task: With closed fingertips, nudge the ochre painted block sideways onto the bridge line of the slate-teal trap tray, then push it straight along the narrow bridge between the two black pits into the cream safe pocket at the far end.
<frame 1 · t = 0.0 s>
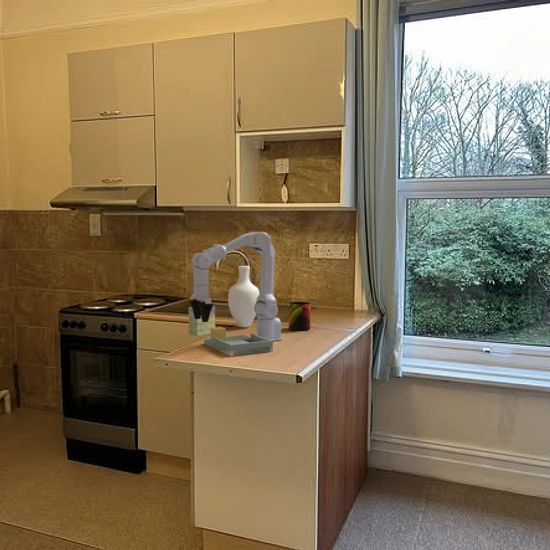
hand: (201, 320, 211), 10 cm above the countertop, fingers open, 7 cm apart
mug: (298, 329, 251), on the countertop
box: (201, 334, 237), on the countertop
vase: (243, 327, 254), on the countertop
trap tray: (237, 347, 211), on the countertop
ochre block: (218, 339, 215), point 2 cm above the countertop, touching trap tray
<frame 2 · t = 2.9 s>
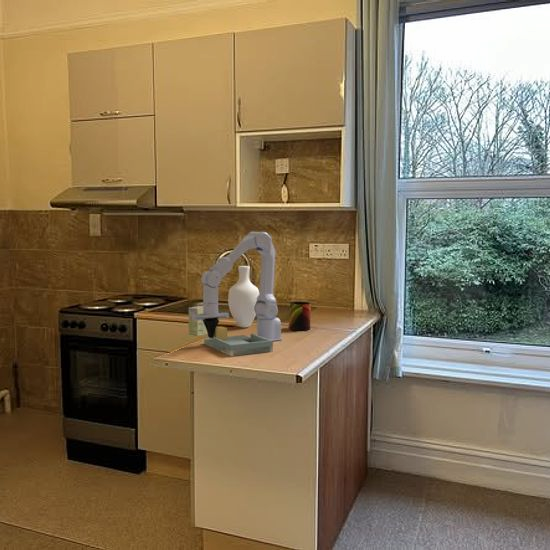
hand: (210, 337, 213), 3 cm above the countertop, fingers closed
ochre block: (219, 339, 215), point 2 cm above the countertop, touching gripper
everything else where it was.
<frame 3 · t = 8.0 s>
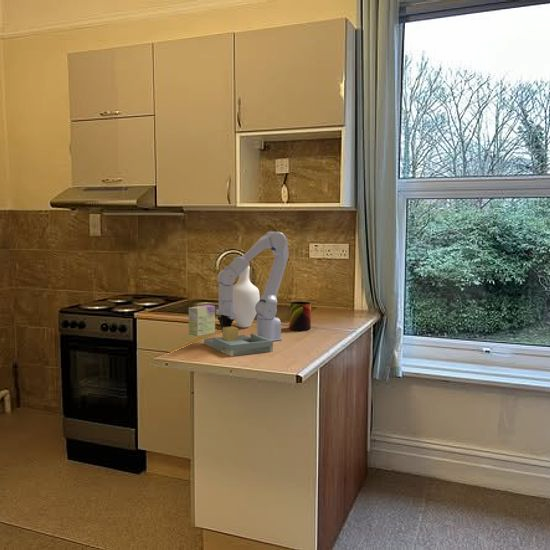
hand: (225, 334, 219), 3 cm above the countertop, fingers closed
ochre block: (230, 339, 216), point 2 cm above the countertop, touching gripper
everything else where it was.
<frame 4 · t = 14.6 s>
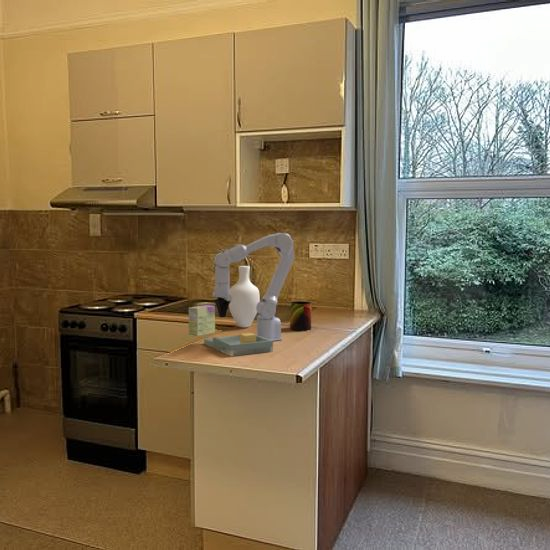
hand: (222, 317, 221), 10 cm above the countertop, fingers closed
ochre block: (247, 346, 203), point 2 cm above the countertop, touching trap tray
at the end: ochre block inside the target area (0.3 cm from its centre), point 2.0 cm above the countertop; ochre block tilted 0° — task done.
